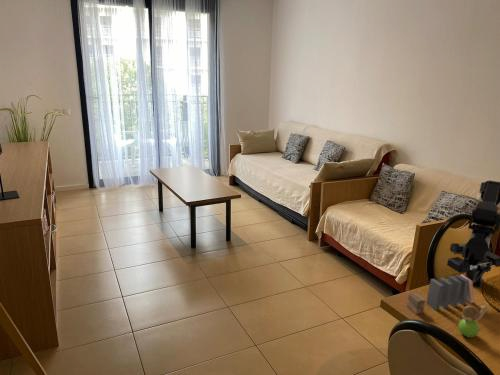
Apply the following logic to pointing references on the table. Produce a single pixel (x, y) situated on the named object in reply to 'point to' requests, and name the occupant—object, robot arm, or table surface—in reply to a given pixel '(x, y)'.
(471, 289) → the domino
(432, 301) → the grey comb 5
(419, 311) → the stop block
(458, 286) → the domino
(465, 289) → the domino
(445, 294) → the domino
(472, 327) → the snail figurine
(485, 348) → the table surface
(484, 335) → the table surface
